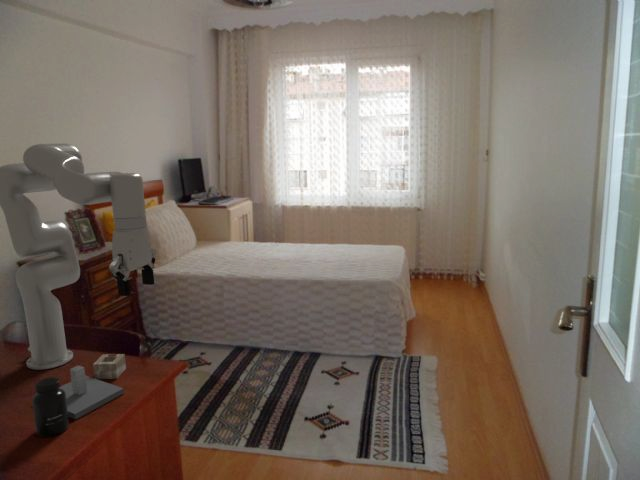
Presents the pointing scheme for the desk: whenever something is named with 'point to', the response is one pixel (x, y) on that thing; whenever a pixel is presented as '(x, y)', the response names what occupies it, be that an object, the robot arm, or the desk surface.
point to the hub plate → (90, 397)
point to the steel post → (78, 380)
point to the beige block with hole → (109, 366)
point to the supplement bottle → (50, 408)
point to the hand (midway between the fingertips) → (137, 289)
